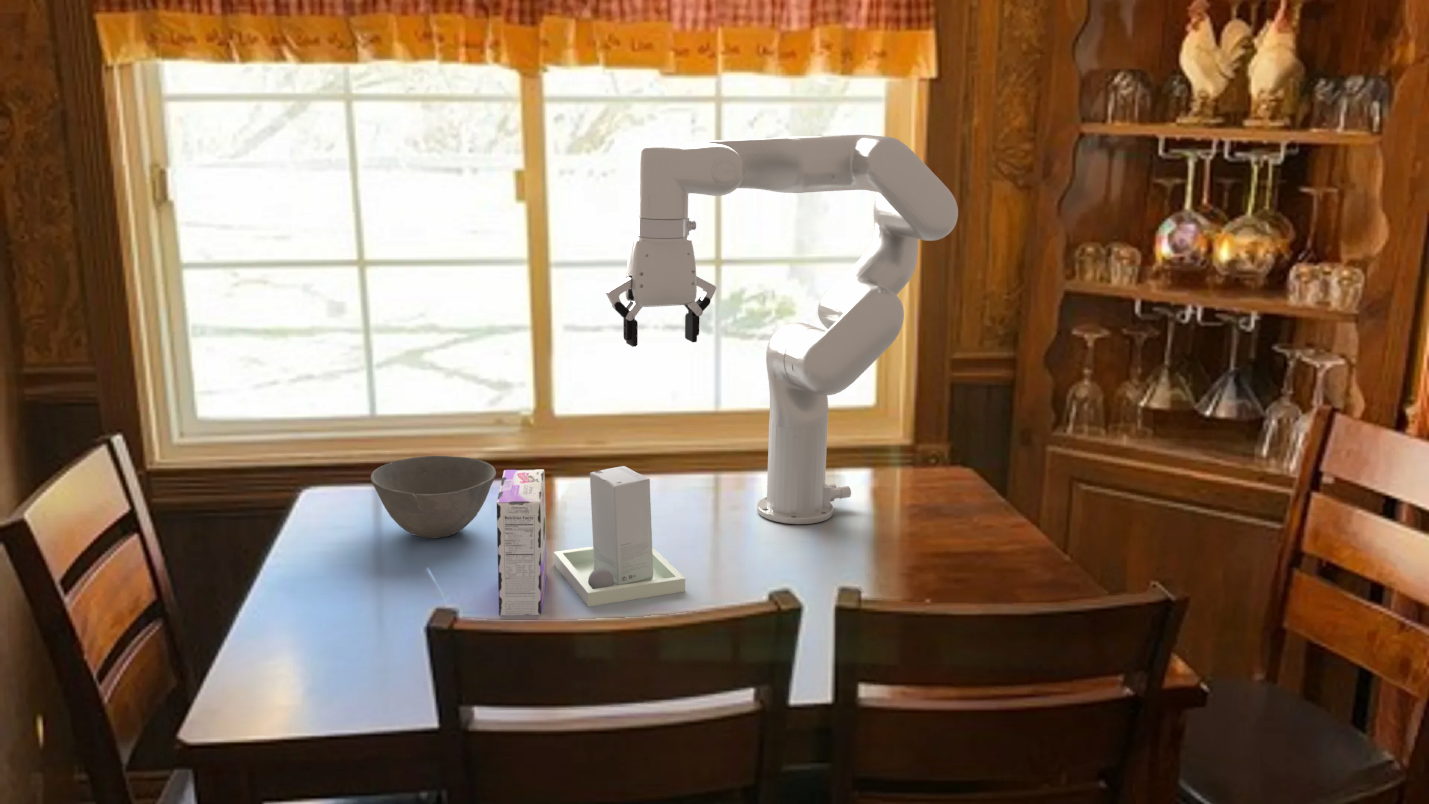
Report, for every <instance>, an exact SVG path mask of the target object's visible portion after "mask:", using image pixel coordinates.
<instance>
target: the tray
mask: <svg viewBox="0 0 1429 804" xmlns="http://www.w3.org/2000/svg"><path fill="white" fill-rule="evenodd" d="M652 555H653V578H652V579H649V580H644V581H639V582H632V583H627V584H623V585H617V584H616V583H615V582H614V585H613V586H611V587H604V588H598V589H592V588H591V586H590V585H589V584H588V579H589V576H590V574H591V573H592V572H593V571H594V570H596V569H595V568H594V554H593V546H587V547H577V548H571V549H565V550H564V549H563V550H558V551H553V565H554V566H555V567H556V569H557V571H558V572H560V574H561V575H562V576H563V577H564V579H565V580H566V581H567V583H568V584H569V585H570V586H571V588H573V590H574V591H575V592H576V594H577V595H578V596H579V597H580V599H582V601H583V603H584V604H585V605H586V606H587V607H594V606H595V607H596V606H601V605H607V604H614V603H619V602H620V603H621V602H626V601H634V600H640V599H646V598H652V597H659V596H665V595H670V594H671V595H672V594H677V593H685V592H686V577H684V575H682V573H681V572H680V571H679V570H677V569H676V568H675V567H674V566H673V565H672V564H671V563H670V562H669V561H668V560H667V559H666V558H665V557H664V556H662V555H661V553H659V552H658V550H656V549H655V548H654V547H653V546H652Z"/></svg>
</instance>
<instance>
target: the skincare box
mask: <svg viewBox="0 0 1429 804" xmlns="http://www.w3.org/2000/svg"><path fill="white" fill-rule="evenodd" d="M589 480H590V481H589V483H590V504H591V505H590V506H591V508H590V509H591V526H592V527H591V528H592V547H593V554H594V568H595V569H600V568H602V569H606V570H608V571H610V572H611V574H612V575H613V578H614V582H615V583H616V584H617V585H623V584H627V583H632V582H639V581H644V580H649V579H652V578H653V555H652V547H653V534H652V531H653V530H652V509H651V508H652V506H651V505H652V503H651V485H650V484H651V478H650V477H649V478H648V477H647V476H645V475H643V474H641V473H638V472H636V471H634V470H633V469H631V468H629V467H627V466H625V465H620V466H617V467H616V466H615V467H612V468H611V467H610V468H605V469H602V470H595V471H592V472H589Z"/></svg>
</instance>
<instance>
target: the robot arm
mask: <svg viewBox="0 0 1429 804" xmlns="http://www.w3.org/2000/svg"><path fill="white" fill-rule="evenodd" d="M636 162H637V164H636V166H637V167H636V169H637V173H636V177H637V179H636V181H637V183H636V184H637V185H636V190H637V192H636V196H637V197H636V198H637V199H636V200H637V201H636V204H637V205H636V216H637V218H636V219H637V220H636V225H637V226H636V227H637V228H636V237H635V238H634V237H633V238H631V241H630V244H629V249H628V256H627V266H626V273H625V275H626V276H625V279H623V280H622V281H620V282H619V283H617V284H615V285H613V286H612V287H609V288H608V289H607V290H606V291H605V294H606V296H607V298H608V300H609V302H610V303H611V305H612V308H613V309H614V310H615V311H616V312H617V313H618V314H619V316H620V317H622V318H623V323H622V324H623V325H622V326H623V340H624V341H625V342H626V344H627V345H629V346H630V347H632V348H633V347H637V346H638V344H639V343H638V342H639V341H638V339H639V338H638V337H639V336H638V331H639V330H638V327H639V326H638V323H639V322H638V320H637V319H635V317H636V316H637V315H638V314H639V312H640V311H641V310H642V308H655V307H658V308H659V307H674V306H684V307H685V308H686V309H687V312H686V313H685V316H684V318H685V319H684V320H685V322H684V338H685V340H687V341H690V342H691V343H697V342H698V336H699V335H700V317H701V316H702V315H703V314H704V313H703V312H704V311H705V310H706V309H707V308H708V307H709V305H711V301H712V298H713V296H714V295H715V293H716V290H717V287H716V285H715V284H712V283H711V282H709V281H706V280H704V279H703V278H702V277H699V276H697V269H696V268H697V267H696V258H695V252H694V246H693V242H692V238H690V237H688V236H690V232H691V231H696V229H697V222H696V221H695V220H690V218H689V194H695V195H697V194H698V195H704V196H712V197H713V196H714V197H720V196H726V195H728V194H731V193H733V192H734V191H735V190H737V189H751V190H752V189H754V190H755V189H756V190H762V191H763V190H765V191H771V192H776V193H784V194H785V193H786V194H787V193H788V194H789V193H790V194H803V193H817V192H818V193H820V192H836V191H837V192H839V191H861V190H862V191H869V192H876V193H878V194H877V196H876V198H875V200H874V205H873V226H874V227H873V236H872V240H871V242H870V245H869V247H868V248H867V249H866V251H865V252H864V253H863V254H862V255H861V257H860V258H859V259H858V260H857V261H856V262H855V263H854V264H853V265H852V266H851V267H850V268H848V270H847V271H845V272H844V273H843V275H842V276H840V277H839V278H838V279H837V280H836V281H835V283H833V284H832V285H831V286H830V287H829V288H828V289H827V290H826V291H825V292H824V294H823V295H822V296H821V298H820V300H819V303H818V306H817V316H818V318H819V321H820V322H821V324H822V325H823V326H824V327H825V328H826V329H827V330H825V329H822V328H819V327H817V326H814V325H811V324H809V323H808V324H806V323H804V322H791V323H787V324H784V325H782V326H781V327H779V328H778V329H777V330H775V331H774V332H773V334H772V335H771V337H770V339H769V341H768V343H767V347H766V353H765V355H766V356H765V357H766V359H765V362H766V370H767V379H768V386H769V420H768V421H769V422H768V451H767V452H768V453H767V455H768V456H767V479H766V480H767V482H766V483H767V485H766V496H765V497H763V498H762V499H760V500H758V502H757V505H756V506H757V507H756V509H757V510H756V511H757V513H758V514H759V515H760V516H762V518H765V519H767V520H769V521H772V522H777V523H781V524H790V525H808V524H809V525H811V524H816V523H821V522H824V521H826V520H829V519H830V518H831V517H832V516H834V505H833V504H832V503H833V502H835V500H837V499H839V500H841V499H847V498H851V496H852V490H851V488H850V486H848V485H847V486H839V487H837V485H836V484H835V483H833V484H826V472H827V470H826V469H827V448H828V424H829V400H828V396H833V395H836V394H839V393H841V392H842V391H844V390H846V389H847V388H849V387H850V386H851V385H852V384H854V382H855V381H856V380H857V379H858V378H860V377H861V375H863V373H864V372H865V371H866V370H867V369H869V368H870V367H871V365H873V363H875V362H876V360H878V359H879V358H880V357H881V356H882V355H883V354H884V353H885V352H886V350H888V348H889V347H891V345H892V344H893V343H894V342H895V341H896V339H897V337H898V336H899V334H900V332H901V330H902V326H903V324H904V319H905V310H904V306H903V304H902V300H901V299H900V297H899V296H898V295H899V293H900V292H901V291H902V290H903V289H904V288H905V286H907V284H908V283H909V282H910V280H911V278H912V277H913V275H914V273H915V271H916V267H917V263H918V254H919V240H922V241H927V242H928V241H932V242H933V241H938V240H941V239H944V238H945V237H946V236H948V235H949V234H951V232H953V230H954V229H955V227H956V225H957V222H958V219H959V208H958V204H957V201H956V198H955V196H954V195H953V193H952V191H950V189H949V188H948V187H947V186H946V185H945V184H944V183H943V181H942V180H941V179H939V177H938V176H937V175H936V174H935V173H934V172H933V171H932V170H931V169H930V168H929V166H927V164H925V162H924V161H923V160H922V159H921V158H920V157H919V156H918V155H917V154H916V153H915V152H914V151H913V150H912V149H911V148H910V147H909V146H908V145H907V144H905V143H904V142H902V141H901V140H900V139H897V138H894V137H892V136H884V135H883V136H881V135H871V134H845V135H843V134H841V135H819V136H818V135H814V136H811V135H810V136H781V137H771V138H762V139H761V138H760V139H732V140H731V139H730V140H729V139H728V140H727V139H726V140H700V141H699V140H698V141H697V140H696V141H691V142H690V141H689V142H687V143H685V144H684V145H676V144H648V145H647V144H646V145H644V146H642V147H640V149H639V150H638V152H637V160H636ZM697 287H698V288H701V289H702V291H703V292H702V294H701V296H700V297H699V298H698V299H697V291H698V290H697V289H698V288H697ZM623 293H625V298H626V301H628V302H627V303H626V304H625V305H624V304H623V303H622V301H621V299H620V296H621V294H623ZM696 299H697V300H696Z"/></svg>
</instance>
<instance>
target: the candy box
mask: <svg viewBox="0 0 1429 804" xmlns="http://www.w3.org/2000/svg"><path fill="white" fill-rule="evenodd" d="M545 479H546V475H545V469H540V468H539V469H533V468H532V469H504V470H503V473H502V478H501V483H500V485H499V486H500V487H499V491H498V495H497V501H496V522H497V523H496V532H497V535H496V536H497V537H496V538H497V542H496V543H497V545H496V546H497V575H498V576H497V584H498V587H497V589H498V591H497V593H498V615H499V616H538V615H542V614H543V613H542V612H543V606H544V599H545V591H546V581H547V576H548V574H547V573H548V572H547V570H548V569H547V568H548V566H547V563H548V562H547V560H548V559H547V524H546V523H547V517H546V514H547V512H546V508H547V507H546V480H545Z"/></svg>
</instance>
